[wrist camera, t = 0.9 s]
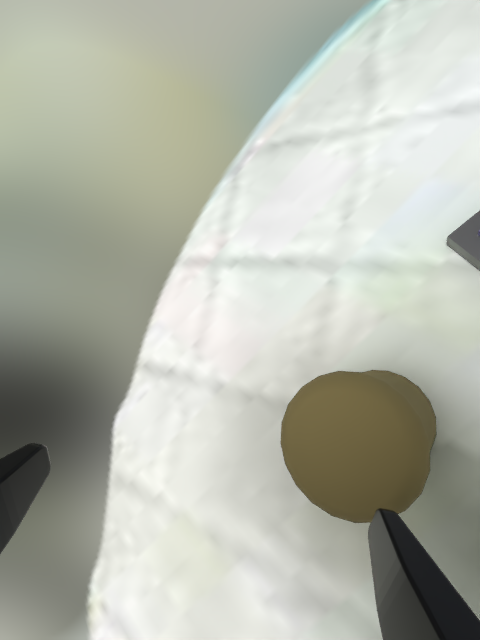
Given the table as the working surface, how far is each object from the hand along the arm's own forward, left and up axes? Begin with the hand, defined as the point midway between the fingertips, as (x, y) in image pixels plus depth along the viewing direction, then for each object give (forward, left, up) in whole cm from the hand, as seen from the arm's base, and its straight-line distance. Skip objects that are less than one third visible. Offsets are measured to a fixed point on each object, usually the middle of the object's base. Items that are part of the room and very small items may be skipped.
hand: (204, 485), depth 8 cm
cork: (-1, -3, -15) cm, 15 cm away
